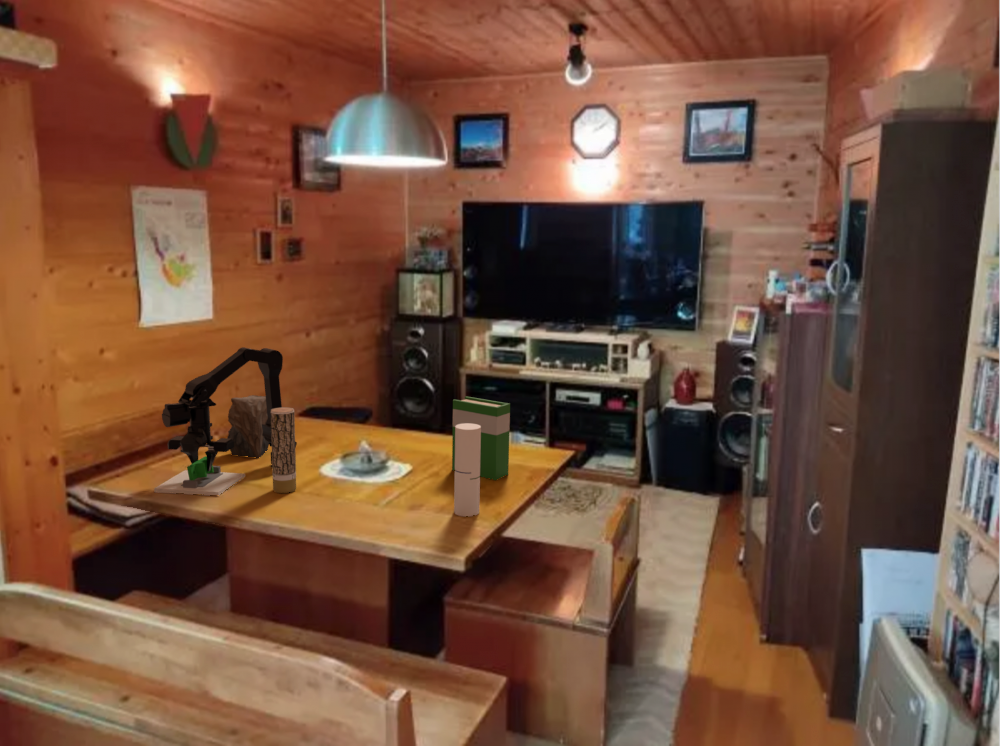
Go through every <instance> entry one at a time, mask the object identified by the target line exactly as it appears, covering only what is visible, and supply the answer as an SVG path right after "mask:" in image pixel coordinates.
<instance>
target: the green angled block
mask: <svg viewBox="0 0 1000 746" xmlns="http://www.w3.org/2000/svg"><path fill="white" fill-rule="evenodd" d="M213 466H214V465H212V467H211V470H210V471H209V472H208V471H207V456H206V455H205V456H203V457H201V458H200V459H198V461H196V462H194V463H193V464H192V463H191V464H189V465H188V466H186V470H188V475H189V480H195V479H197V478H201V477H207V474H208V473H213V472H214V469H213Z"/></svg>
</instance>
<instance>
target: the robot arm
mask: <svg viewBox="0 0 1000 746" xmlns="http://www.w3.org/2000/svg"><path fill="white" fill-rule="evenodd" d="M283 360H284V357H283V353H281V352H280V351H278V350H276V349H274V348H273V349H272V348H267V347H265V348H264V347H263V348H261V349H254V348H250V347H249V348H248V347H243V346H241V347H240V348H238V349H237V351H236V352H234V353H233V354H232V355H230V356H229V357H227V358H226V359H225V360H223V362H221V363H220V364H219V365H217V366H216V367H214V368H213V369H212V370H210V371H209V372H207V373H205V374H202V375H200V376H197V377H195V378H193V379H191V380H189V381H188V382H187V383H186V384H185V388H184V391H183V393H182V395H181V396H180V397H179V400H177V401H178V402H174V403H165V404H164V408H163V410H162V413H161V419H162V422H163V425H164V426H165V427H166V428H171V427H178V426H183V425H187V424H188V423H189V425H188V426H187V432H186V434H184V435H182V436H181V435H176V436H174V437H172V438H170V439H169V440H168V442H167V449H168V450H179V449H180V447H181V449H180V452H181V453H184V454H185V455H186V456H187V457H188V460H189V462H190V463H191V464H193V463H194V462H196V461H198V460H199V449H200V448H207V450H206V451H205V452H204V453H205V456H207V471H208V472H209V471H210V470H211V467H212V465H213V464H214V462H215V458H216V457H217V456H218V453H225V452H226V453H227V452H228V451H230V449H232V448H233V447H234V441H233V440H232V439H229V438H227V437H226V438H222V437H221V438H219V439H217V440H213V439H214V436H213V435H212V434H211V433H212V432H211V428H212V427H213V423H212V422H211V415H210V414H211V413H210V407H215V406H217V403H216V402H214V401H213V400H212V398H211V397H212V396H213V394H214V393H216V391H217V389H218V387H219V386H220V384H221V383H223V382H224V381H225V380H227V378H229V377H230V376H232V375H233V374H234V373H235V372H237V371H238V370H239V369H241V368H242V367H243V366H245V365H246V364H247V363H248V362H256V363H257V365H258V369H259V371H260V373H261V374H262V377H263V382H264V392H265V396H266V406H267V416H268V419H267V422H266V424H262V429H263V434H262V436H264V438H265V440H266V441H268V442H269V446H270V447H272V440H271V410H272V409H274V408H282V407H283V406H282V395H281V394H282V393H281V386H280V385H281V384H280V375H281V372H282V369H283V363H284V361H283ZM297 444H298V442H297V441H296V440H295V449H297ZM213 466H214V465H213ZM269 467H270V468H272V451H271V452H270V466H269Z"/></svg>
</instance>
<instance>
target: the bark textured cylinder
mask: <svg viewBox="0 0 1000 746" xmlns="http://www.w3.org/2000/svg"><path fill="white" fill-rule="evenodd" d="M295 421H296V420H295V409H294V408H293V407H286V406H285V407H284V406H282V408H274V409H272V410H271V440H272V446H271V452H272V464H271V465H272V467H271V468H272V490H273V492H275V493H277V494H290V493H293V492H294V491H296V490H297V464H296V462H297V459H296V458H297V457H296V454H297V453H296V448H295V441H296V429H295V428H296V423H295ZM289 492H290V493H289Z"/></svg>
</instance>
